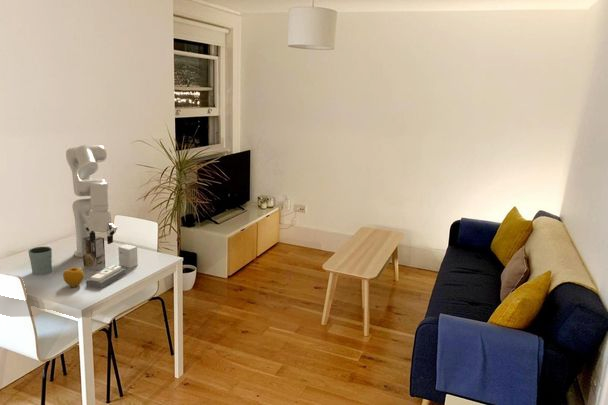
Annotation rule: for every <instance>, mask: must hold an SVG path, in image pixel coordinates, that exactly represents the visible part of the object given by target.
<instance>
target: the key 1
mask: <svg viewBox="0 0 608 405" xmlns="http://www.w3.org/2000/svg"><path fill="white" fill-rule="evenodd" d="M90 278H91V280H93V281H99V282H100V281H102V280H103V279H105V278H106V275H103V274H99V272H98V273H96V274H94V275H92V276H90Z"/></svg>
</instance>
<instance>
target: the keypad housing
mask: <svg viewBox="0 0 608 405" xmlns="http://www.w3.org/2000/svg"><path fill="white" fill-rule="evenodd" d="M126 271H127V270H126V268H123V267H121V270H119V271H118V272H116V273H115V272H114V274H112V275H111V276H109V277H106V278H105V279H103V280H102V281H100V282H99V281H93V280H91V277H90V278H88V279H86V281H85V282H86V284H85V285H86V287H89V288H90V287H91V288H95V289H100V290H102V289H104V288H105V287H107V286H108V285H111V284H112V283H114V282H115V281H117V280H119V279H120V278H122V277H124V276H126V274H127V272H126Z"/></svg>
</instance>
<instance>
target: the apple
mask: <svg viewBox="0 0 608 405" xmlns="http://www.w3.org/2000/svg"><path fill="white" fill-rule="evenodd" d="M84 277H85V272H84V270H83V269H82V268H81V267H70V268H67V269H65V271H64V272H63V275H62V278H63V281H64V282H65V284H67V285H68V286H70V287H71V288H75V287H78V286H79V285H81V283H82V281H84V280H83V279H84Z"/></svg>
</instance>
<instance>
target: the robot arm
mask: <svg viewBox="0 0 608 405" xmlns="http://www.w3.org/2000/svg"><path fill="white" fill-rule="evenodd" d="M65 157H66V162H67V163H68V164H67V165H68V166H69V168H70V170H71V174H72V185H73V192H74V194H75V196H77V197H89V198H80V199H76V200H75V201H73V202H72V206H71V207H72V212H73V216H74V223H75V224H74V225H75V241H76V250H75V251H74V252H73V254H74V257H78V258H83V249H82V239H83V238H85V237H88V236H90V242H92V241H94V240H96V239H95V236H96V233H106V235H107V237H106V239H107V242H106V243H107V245H111V244H112V243H113V242H114V235H115V233H116V231H117V230H118V227H117V225H114V223H112V222H113V221H112V216H111V212H110V210H109V196H108V195H109V194H108V193H109V192H108V190H109V183H108V182H107V180H106V179H104V178H91V177H90V176H91V175H93V174H95V173H96V172H97V171H98V170H99V163H102V162H104V161H106V160H107V149H106V148H105V147H104V145H101V144H84V145H79V146H78V147H77V146H76V147H71V148H70V147H69V148H68V149H67V150H66V151H65Z"/></svg>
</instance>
